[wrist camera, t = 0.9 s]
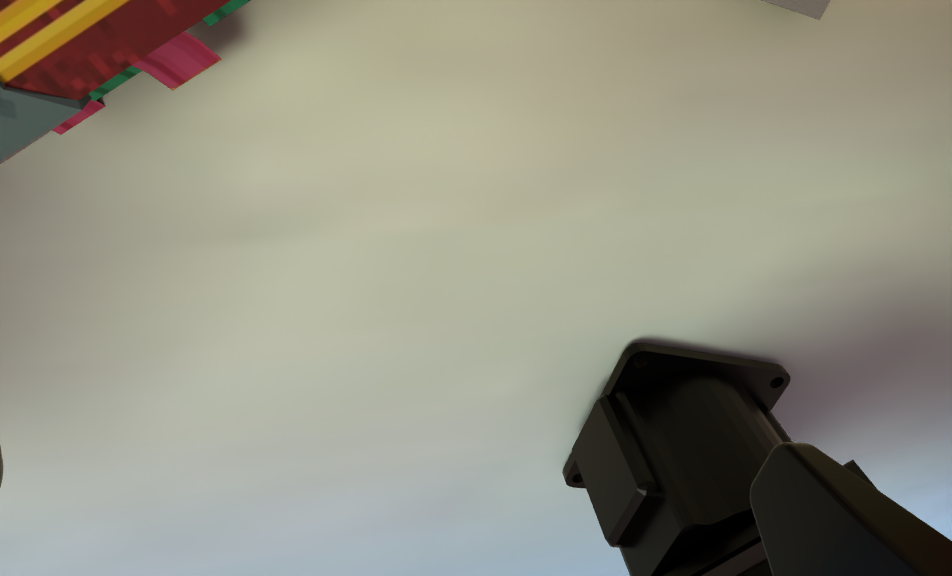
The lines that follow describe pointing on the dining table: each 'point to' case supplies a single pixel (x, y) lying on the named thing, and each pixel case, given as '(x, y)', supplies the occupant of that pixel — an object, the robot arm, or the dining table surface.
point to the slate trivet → (803, 6)
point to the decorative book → (91, 57)
